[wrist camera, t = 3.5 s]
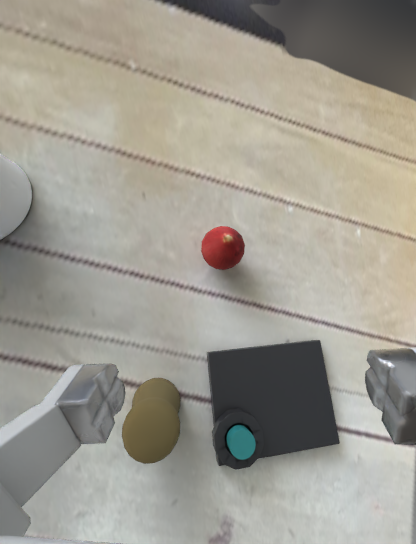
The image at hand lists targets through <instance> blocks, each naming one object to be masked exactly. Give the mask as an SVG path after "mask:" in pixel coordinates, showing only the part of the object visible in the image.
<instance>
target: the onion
mask: <svg viewBox="0 0 416 544" xmlns="http://www.w3.org/2000/svg"><path fill="white" fill-rule="evenodd" d="M244 247H245V244H244V241H243V239H242V236H241V235H240V234H239V233H238V232H237V231H236V230H234V229H232V228H230V227H225V226H220V227H217V228H214V229H212V230H211V231H209V232H208V233H206V235H205V237H204V239H203V241H202V250H201V252H202V255H203V257H204V259H205V261H206V262H207V263H208V264H209V265H210V266H212V267H214V268H215V269H222V270H225V269H229V268H232V267H234V266H235V265H236V264H238V263H239V262H240V260H241V258H242V256H243V255H244Z"/></svg>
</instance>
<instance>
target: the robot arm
mask: <svg viewBox="0 0 416 544" xmlns="http://www.w3.org/2000/svg"><path fill="white" fill-rule="evenodd" d="M31 201H32V188H31V184H30V181H29V179H28V177H27V175H26V174H25V172H24V171H23V170H22V169H21V168H20V167H19V166H18V165H17V164H15V163H14V162H13V161H11V160H9V159H8V158H6V157H5V156H4V155H2V154H1V153H0V240H1V239H2V238H4V237H6V236H7V235H9V234H10V233H11V232H13V231H14V230H15V229H16V228H17V227H18V226H19V225H20V224H21V223H22V221H23V220H24V218H25V217H26V215H27V213H28V211H29V209H30V205H31ZM367 361H368V363H369V365H370V366H371V367H370V368H369V369H368V370H367V371H366V374H365V383H366V388H367V392H368V395H369V397H370V399H371V401H372V403H373V405H374V406H375V407H377V408H378V409H379V410H381V411H382V412H383V414H382V422H383V424H384V425H385V427H386V429H387V431H388V433H389V435H390V436H391V438H392V440H393V442H394V444H408V445H416V347H414V348H400V349H384V350H370V351H369V353H368V356H367ZM118 372H119V371H118V369H117V367H116V365H115V364H86V365H72V366H70V367H69V368H68V369H67V370H66V371H65V373H64V374H63V375H62V376H61V378H60V379H59V380H58V381H57V383H56V384H55V385H54V387H53V388H52V389H51V390H50V392H49V393H48V394H47V395H46V397H45V398H44V399H43V400H42V402H41V403H40V404H39V405H34V406H33V407H31V408H30V409H28V410H27V411H25V412H24V413H22V414H21V415H19V416H18V417H16V418H15V419H13V420H12V421H10V422H9V423H8V424H6V425H5V426H3V427H2V428H0V544H121V543H107V542H93V541H78V540H64V539H50V538H36V537H23V536H24V535H25V533H26V531H27V529H28V527H29V525H30V524H31V522H30V517H29V516H28V514H27V513H26V512H25V511H24V510H23V509H22V508H21V507H22V506H23V505H24V504H25V503H26V502H27V501H28V500H29V499H30V498H31V497H32V496H33V495H34V494H35V493H36V492H37V491H38V490H39V489H40V488H41V487H42V486H43V484H44V483H45V482H46V481H47V480H48V479H49V478H50V477H51V476H52V475H53V474H54V473H55V472H56V471H57V470H58V469H59V468H60V467H61V466H62V465H63V464H64V463H65V462H66V461H67V460H68V459H69V458H70V457H71V455H72V454H73V453H74V452H75V451H76V450H77V449H78V448H79V447H80V446H81V444H95V443H106V441H107V439H108V437H109V435H110V432H111V430H112V428H113V426H114V424H115V422H114V416H115V415H116V414H117V413H118V412H119V411H120V410H121V408H122V406H123V403H124V399H125V386H124V384H123V381H121V380H120V379H119V378H118V377H117V374H118Z"/></svg>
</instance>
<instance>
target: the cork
mask: <svg viewBox="0 0 416 544" xmlns="http://www.w3.org/2000/svg"><path fill="white" fill-rule="evenodd" d="M179 409H180V396H179V392H178V390H177V388H176V387H175V385H174V384H172V383H171V382H170V381H169V380H166V379H163V378H153V379H150V380H148V381H146V382H145V383H143V384H142V385H141V386H140V387H139V388H138V389H137V391H136V392H135V395H134V398H133V401H132V409H131V410H130V412H129V413H128V414H127V416H126V418H125V421H124V424H123V428H122V439H123V443H124V447H125V449H126V451H127V452H128V454H129V455H130V456H131V457H132V458H133V459H135V460H136V461H138V462H141V463H145V464H146V463H155V462H158V461H160V460H162V459H164V458H165V457H166V456H167V455H168V454H170V452H171V451H172V449H173V448H174V446H175V445H176V443H177V440H178V437H179V434H180V421H179V417H178V412H179Z"/></svg>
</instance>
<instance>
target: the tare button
mask: <svg viewBox="0 0 416 544" xmlns="http://www.w3.org/2000/svg"><path fill="white" fill-rule="evenodd" d="M226 441H227V445H228V447H229V449H230V451H231V453H232V454H233V456H234V457H236V458H237V459H240V460H245V459H247V458H249V457H250V456H251V455H252V454H253V452H254V450H255V439H254V436H253V435H252V434H251V432H250V431H249V430H248V429H247V428H246V427H245V426H243V425H235V426H233V427H232V428H231V429H230V430H229V431H228V433H227V438H226Z"/></svg>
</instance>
